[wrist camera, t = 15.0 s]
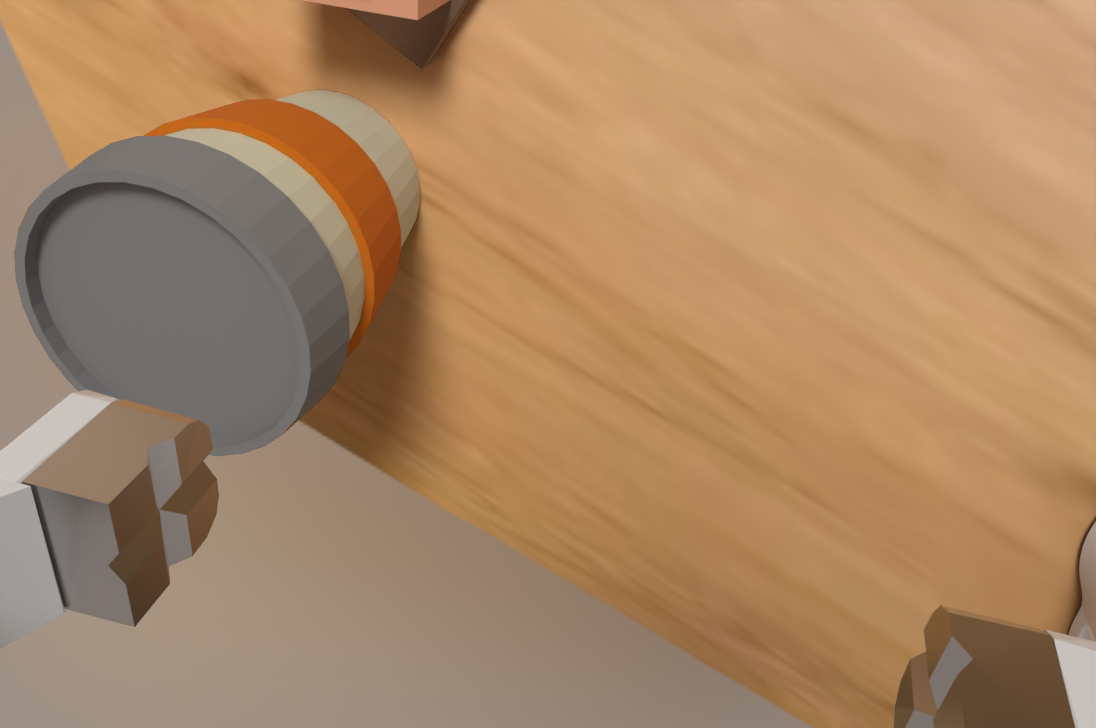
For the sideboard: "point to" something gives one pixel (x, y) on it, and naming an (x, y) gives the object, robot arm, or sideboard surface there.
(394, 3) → the pink square socket block
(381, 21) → the base
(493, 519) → the sideboard surface
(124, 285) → the reusable coffee cup
